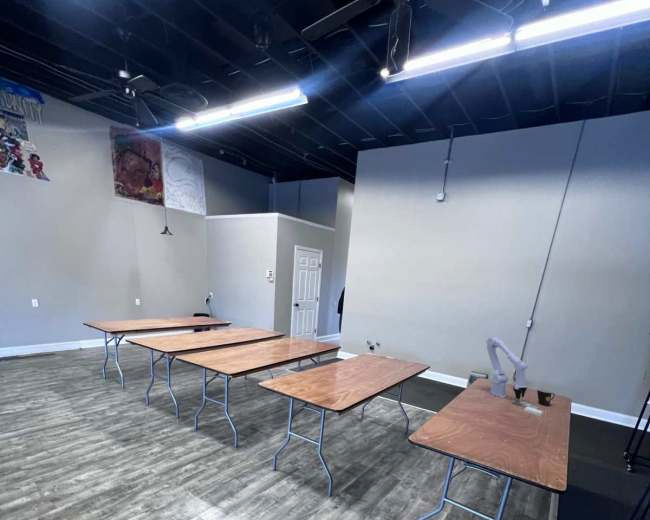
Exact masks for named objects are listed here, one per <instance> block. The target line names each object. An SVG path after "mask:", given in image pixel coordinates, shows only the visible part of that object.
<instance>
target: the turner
mask: <svg viewBox="0 0 650 520" xmlns="http://www.w3.org/2000/svg"><path fill="white" fill-rule="evenodd" d="M513 393H514V394H513V396H514V398H513V400H514V401H515V402H518V403H519V404H522V405H525V406H528V407H530V406H531V405H533V404H532V403H530V402H527V401H523V400H522V399H523V397H522V393H521V396H520V399H517V398H516V395H515V392H514V391H513Z"/></svg>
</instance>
